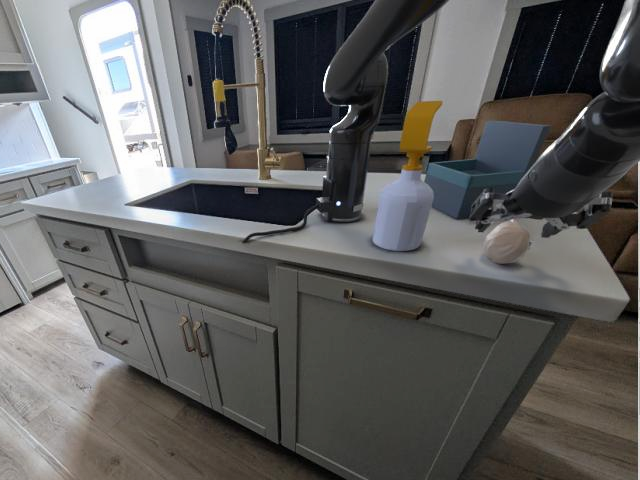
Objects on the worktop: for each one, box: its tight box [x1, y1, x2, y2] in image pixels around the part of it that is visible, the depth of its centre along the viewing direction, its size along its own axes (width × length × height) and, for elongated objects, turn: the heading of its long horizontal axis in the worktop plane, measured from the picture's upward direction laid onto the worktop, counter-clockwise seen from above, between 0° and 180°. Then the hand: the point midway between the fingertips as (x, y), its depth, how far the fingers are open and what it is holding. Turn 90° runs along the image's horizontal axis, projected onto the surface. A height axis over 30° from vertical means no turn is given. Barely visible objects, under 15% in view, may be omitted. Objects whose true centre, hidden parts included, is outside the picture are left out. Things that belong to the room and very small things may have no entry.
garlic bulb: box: [482, 218, 532, 265], centre depth 53 cm, size 7×6×8 cm
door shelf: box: [423, 120, 552, 220], centre depth 73 cm, size 14×16×18 cm
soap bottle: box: [372, 100, 443, 252], centre depth 57 cm, size 9×9×25 cm
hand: (511, 229), depth 51 cm, fingers open, 8 cm apart
